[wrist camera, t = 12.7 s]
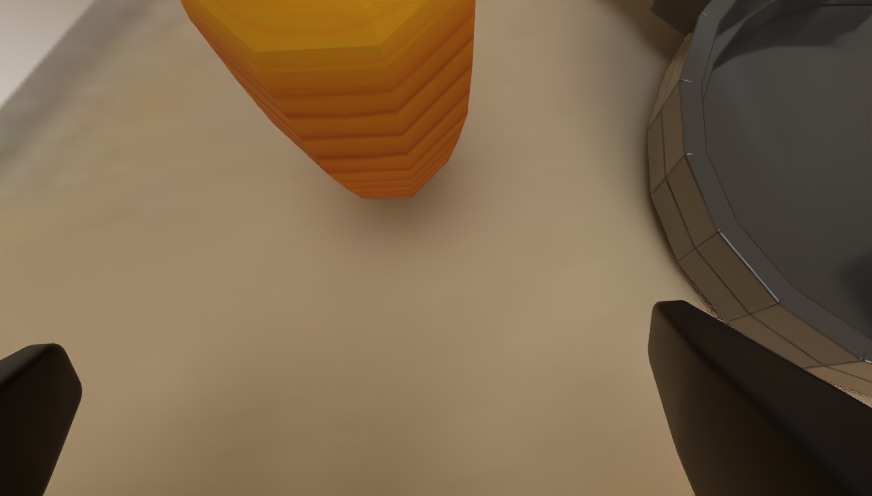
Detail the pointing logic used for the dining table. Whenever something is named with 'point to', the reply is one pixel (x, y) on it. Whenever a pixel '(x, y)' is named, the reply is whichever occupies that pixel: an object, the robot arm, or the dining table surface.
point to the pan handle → (679, 12)
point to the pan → (774, 175)
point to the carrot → (353, 80)
